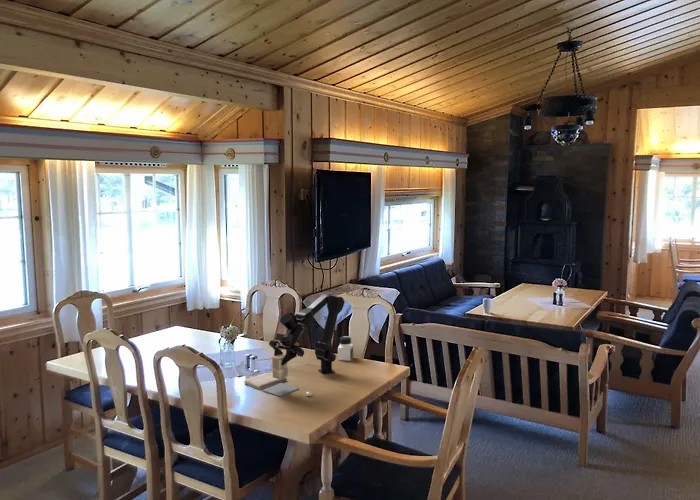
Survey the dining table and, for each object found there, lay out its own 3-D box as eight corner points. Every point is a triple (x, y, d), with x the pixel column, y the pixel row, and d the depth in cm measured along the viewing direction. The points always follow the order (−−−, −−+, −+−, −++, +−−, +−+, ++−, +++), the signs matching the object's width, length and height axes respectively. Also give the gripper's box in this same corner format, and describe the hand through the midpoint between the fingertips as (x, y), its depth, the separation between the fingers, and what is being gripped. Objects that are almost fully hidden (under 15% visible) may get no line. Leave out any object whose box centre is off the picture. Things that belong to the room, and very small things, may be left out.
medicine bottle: (350, 360, 317) (350, 339, 315) (337, 360, 318) (337, 338, 317) (353, 356, 324) (352, 335, 322) (340, 356, 325) (340, 335, 324)
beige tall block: (280, 374, 277) (279, 354, 276) (287, 376, 274) (287, 356, 273) (272, 377, 273) (271, 356, 272) (280, 379, 270) (279, 358, 269)
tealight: (304, 394, 268) (304, 392, 268) (310, 393, 269) (310, 391, 269) (306, 397, 265) (306, 394, 265) (312, 395, 267) (312, 393, 266)
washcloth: (288, 381, 288) (288, 375, 288) (259, 391, 275) (259, 384, 275) (273, 375, 296) (273, 369, 296) (244, 385, 284) (243, 379, 283)
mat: (280, 384, 283) (280, 382, 283) (298, 389, 275) (298, 388, 275) (262, 391, 274) (262, 390, 274) (280, 396, 266) (280, 395, 266)
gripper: (270, 323, 280) (254, 351, 273) (299, 329, 268) (282, 358, 261) (283, 335, 287) (267, 363, 280) (311, 341, 275) (295, 371, 268)
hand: (277, 363), depth 272 cm, fingers closed on beige tall block, 5 cm apart
